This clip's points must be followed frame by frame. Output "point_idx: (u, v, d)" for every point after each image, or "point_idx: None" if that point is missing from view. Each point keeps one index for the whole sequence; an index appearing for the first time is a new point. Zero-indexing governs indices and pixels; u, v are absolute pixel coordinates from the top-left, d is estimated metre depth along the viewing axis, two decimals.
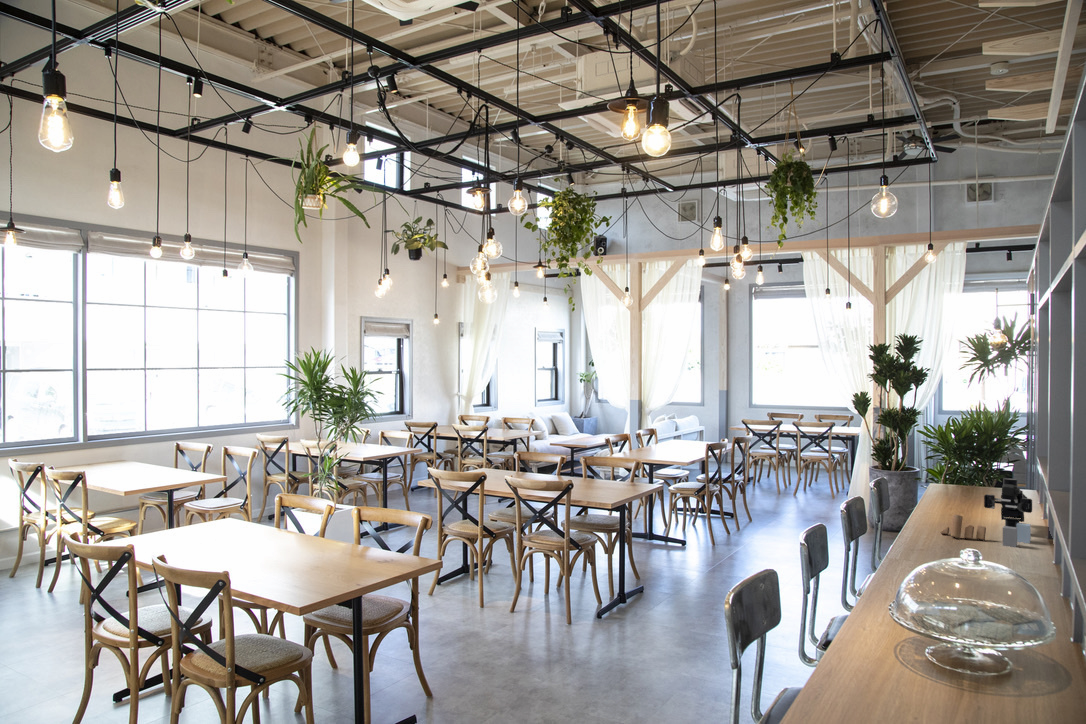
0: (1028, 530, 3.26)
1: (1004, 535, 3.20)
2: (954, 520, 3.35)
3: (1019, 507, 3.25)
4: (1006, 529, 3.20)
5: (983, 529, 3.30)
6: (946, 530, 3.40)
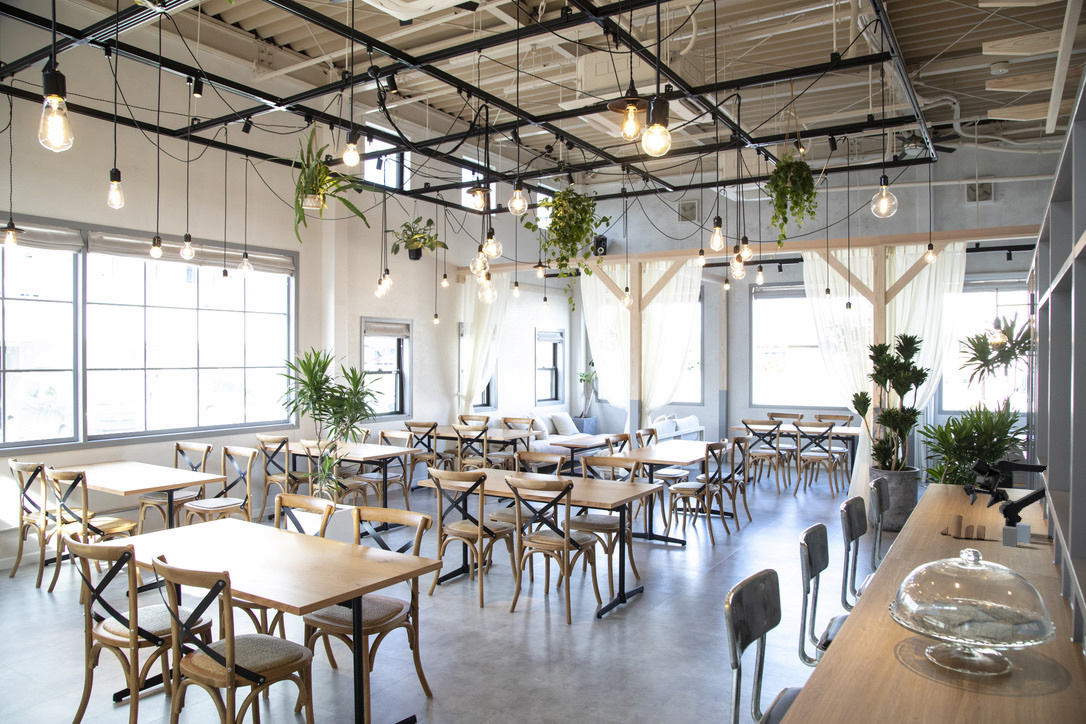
0: (1028, 530, 3.26)
1: (1004, 535, 3.20)
2: (954, 520, 3.36)
3: (989, 505, 3.39)
4: (1006, 529, 3.20)
5: (983, 528, 3.31)
6: (946, 530, 3.40)
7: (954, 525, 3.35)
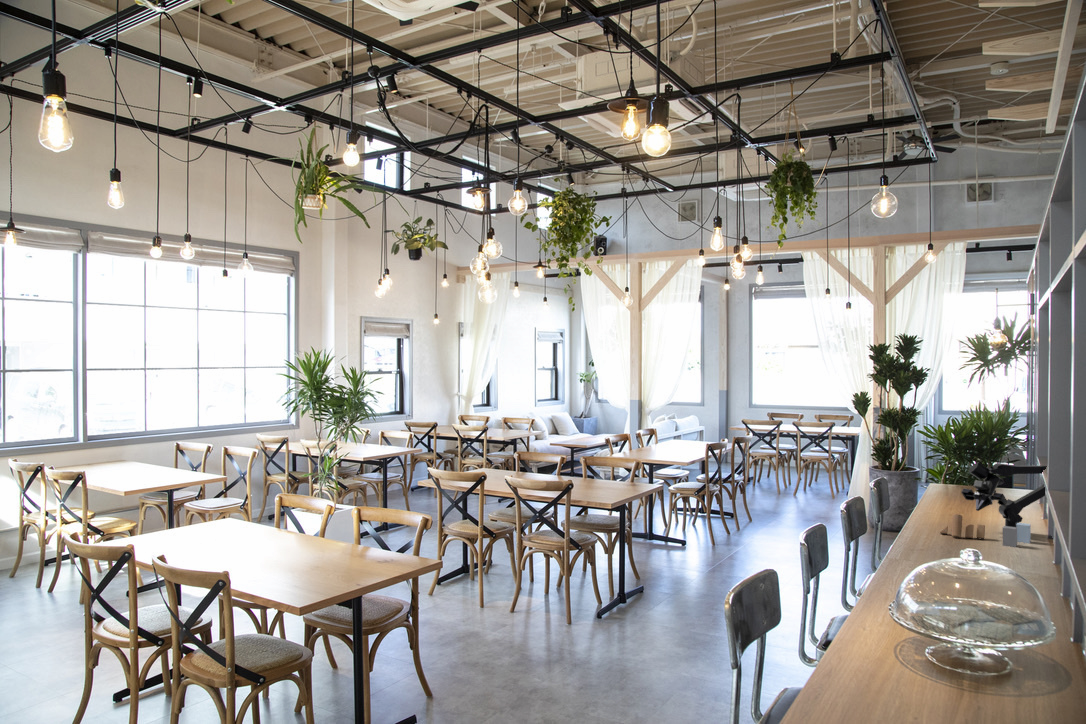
0: (1028, 530, 3.26)
1: (1004, 535, 3.20)
2: (955, 520, 3.36)
3: (979, 508, 3.42)
4: (1006, 529, 3.20)
5: (983, 528, 3.33)
6: (945, 530, 3.41)
7: (954, 525, 3.35)
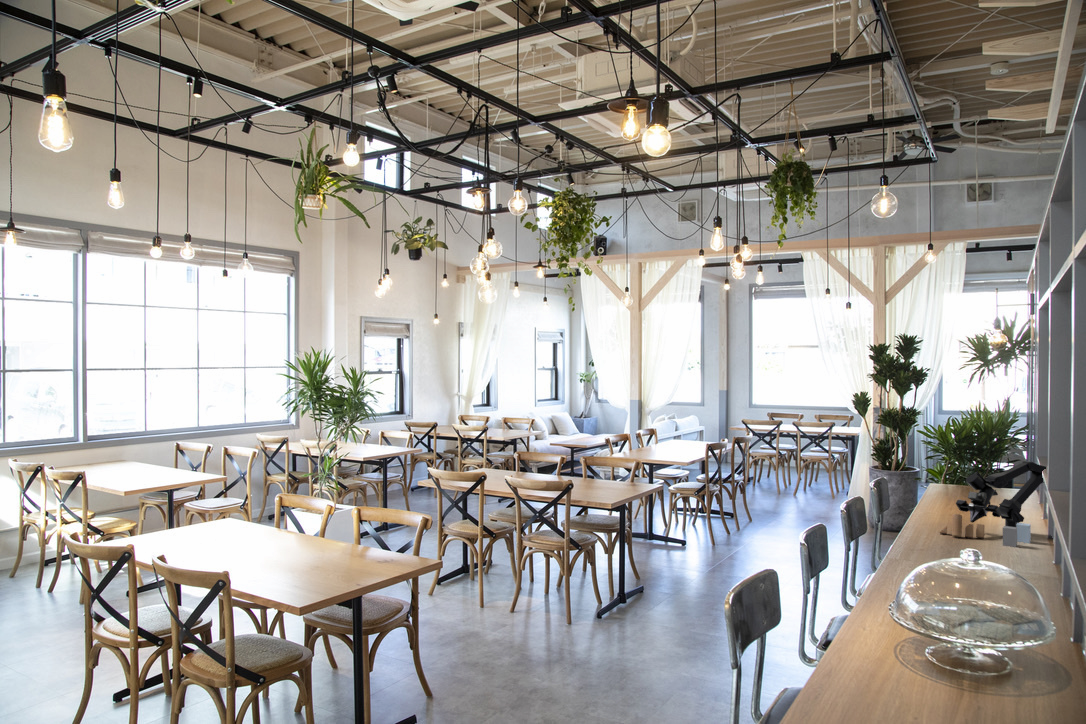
0: (1028, 530, 3.26)
1: (1004, 535, 3.20)
2: (955, 519, 3.37)
3: (974, 520, 3.39)
4: (1006, 529, 3.20)
5: (983, 527, 3.34)
6: (945, 529, 3.41)
7: (955, 525, 3.36)
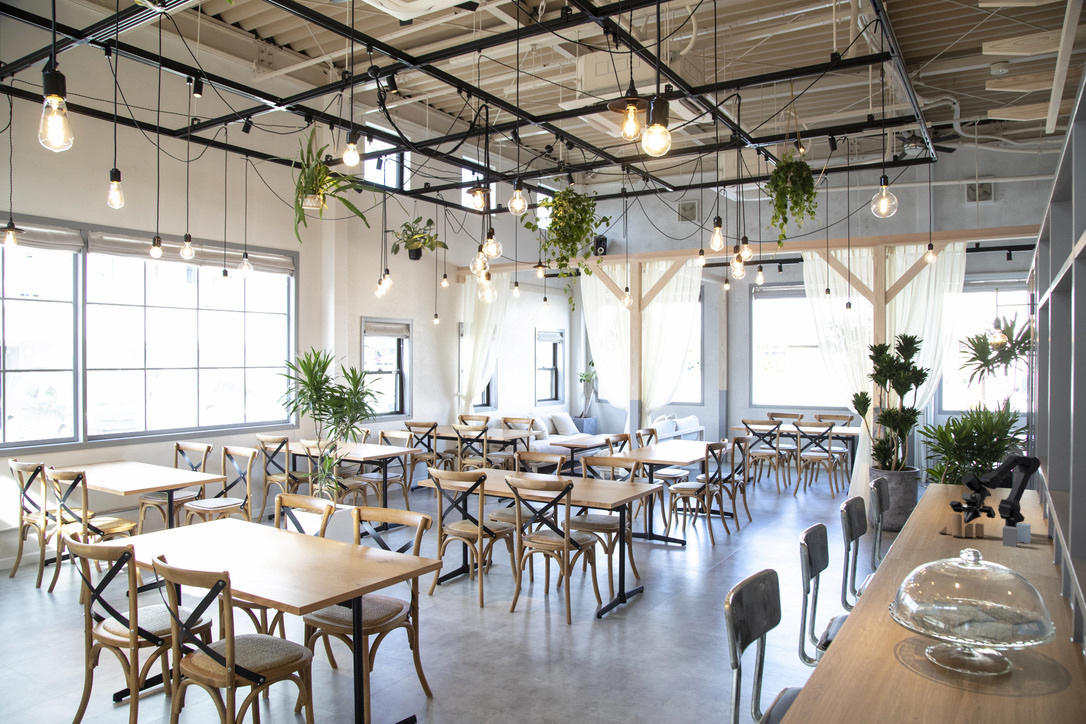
0: (1028, 530, 3.26)
1: (1004, 535, 3.20)
2: (955, 519, 3.37)
3: (968, 521, 3.36)
4: (1006, 529, 3.20)
5: (982, 527, 3.35)
6: (945, 529, 3.42)
7: (955, 524, 3.36)
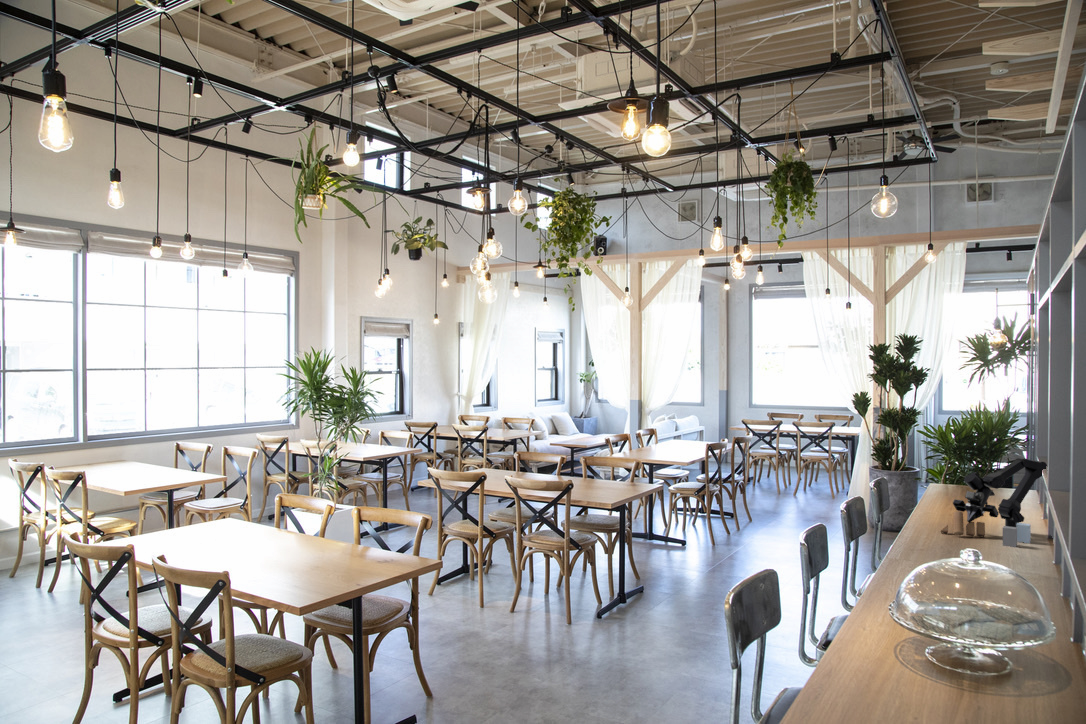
0: (1028, 530, 3.26)
1: (1004, 535, 3.20)
2: (957, 517, 3.39)
3: (970, 520, 3.38)
4: (1006, 529, 3.20)
5: (983, 525, 3.37)
6: (946, 528, 3.43)
7: (957, 522, 3.38)
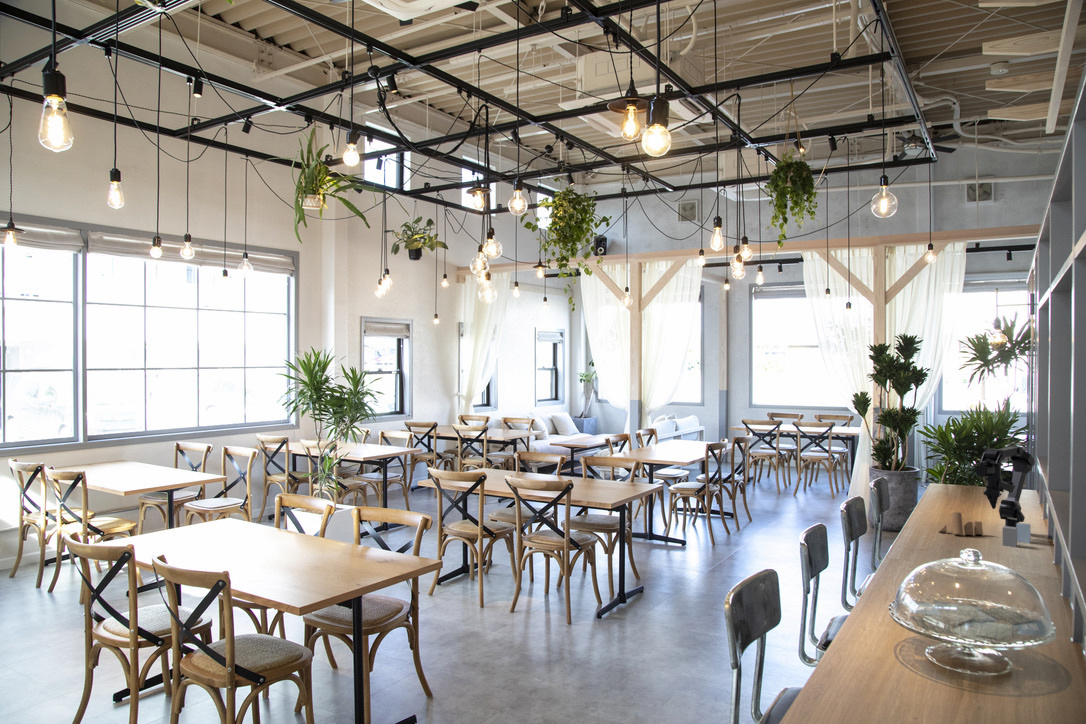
0: (1028, 530, 3.26)
1: (1004, 535, 3.20)
2: (956, 518, 3.41)
3: None
4: (1006, 529, 3.20)
5: (980, 524, 3.40)
6: (945, 528, 3.45)
7: (956, 523, 3.40)
